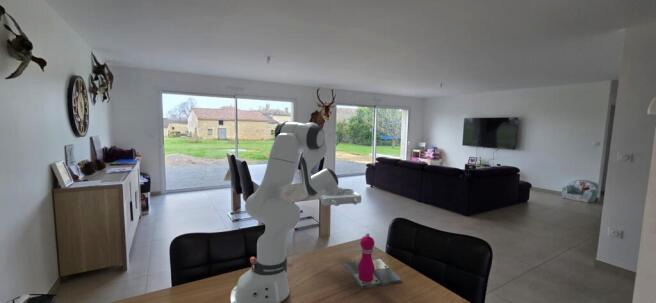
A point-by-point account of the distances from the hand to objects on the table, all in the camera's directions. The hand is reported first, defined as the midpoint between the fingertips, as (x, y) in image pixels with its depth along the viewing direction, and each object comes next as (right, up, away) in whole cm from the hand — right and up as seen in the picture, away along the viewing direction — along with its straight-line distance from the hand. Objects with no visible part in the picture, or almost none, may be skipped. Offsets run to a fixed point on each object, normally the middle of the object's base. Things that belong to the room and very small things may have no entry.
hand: (346, 203), depth 129 cm
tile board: (+11, -31, -4) cm, 33 cm away
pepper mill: (+8, -30, -10) cm, 33 cm away
